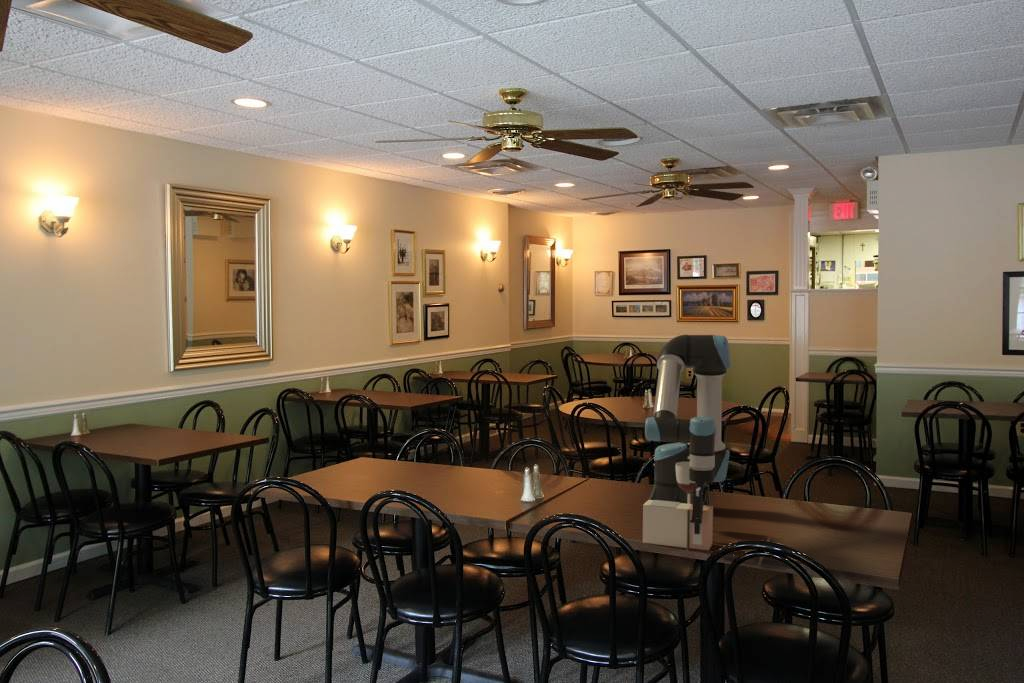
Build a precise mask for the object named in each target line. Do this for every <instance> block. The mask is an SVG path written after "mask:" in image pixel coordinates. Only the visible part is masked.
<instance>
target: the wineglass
mask: <svg viewBox="0 0 1024 683" xmlns="http://www.w3.org/2000/svg"><path fill="white" fill-rule="evenodd" d="M690 468H691V467H690V462H678V463H676V478H677V483H678V485H679V487H680V488H681V489H682V490H684V491H685V492H687V493H688V504H690V501H691V493H694V492H693V490H694V487H696V482H693V481H691V480H690V479H689V469H690Z"/></svg>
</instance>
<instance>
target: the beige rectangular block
mask: <svg viewBox="0 0 1024 683" xmlns="http://www.w3.org/2000/svg"><path fill="white" fill-rule="evenodd" d="M692 505H693V503H691V504H686V503H680V502H671V501H661V500H649V499H648V500H647V501H645V503H643V505H642V543H643V544H652V545H661V546H667V547H668V546H669V547H676V548H684V549H687V548H688V547H689V509H690V508H691V506H692Z"/></svg>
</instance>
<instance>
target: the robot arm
mask: <svg viewBox="0 0 1024 683" xmlns="http://www.w3.org/2000/svg"><path fill="white" fill-rule="evenodd" d="M656 359H657V360H656V367H657V369H658V375H657V383H656V390H655V399H654V406H653V415H652V416H651V417H647V418H646V419H645V423H644V435H645V439H646V440H647V441H651V442H659V443H660V442H667V443H665V444H662V445H658V446H657V447H656V448H655V449H654V458H653V460H654V469H653V470H654V471H653V472H654V478H653V480H654V481H653V482H654V483H653V488H652V491H651V493H650V497H649V499H648V500H661V501H671V502H680V503H686V504H688V493H687V492H685V491H684V490H682V489H681V488H680V487H679V485H678V483H677V478H676V463H678V462H690V467H691V468H690V469H689V479H690V480H691V481H693V482H696V487H694V490H693V492H692V493H693V496H692V497H693V500H692V502H691V500H690V504H692V505H693V510H692V520H690V522H691V523H693V544H699V545H702V513H703V505H709V506H711V502H710V499H711V498H710V483H715V482H717V483H721V482H724V481H725V480H726V477H727V473H728V467H729V459H730V450H728V449H726V444H725V443H724V442H723V441H722V414H723V413H722V412H723V411H722V408H723V406H722V403H723V401H722V400H723V398H722V397H723V396H722V395H723V391H722V390H723V377H724V376H725V375H726V374H727V370H729V369H731V368H732V367H731V365H732V364H731V363H732V362H731V354H730V344H729V340H728V337H726V336H725V335H718V334H716V335H715V334H681V335H678V336H675V337H673V338H671V339H670V340H669V341H668V342H666V344H664V346H663V347H662V348H661V349H660V352H659V354H658V355H657V358H656ZM685 368H692V373H693V374H694V375H695V376H696V379H697V380H696V381H697V382H696V385H697V387H696V388H697V390H696V401H697V402H696V403H697V404H696V416H695V417H692V418H677V417H678V409H679V408H678V406H679V397H680V396H679V394H680V383H681V377H682V376H681V375H682V372H683V371H684V369H685ZM668 442H669V443H668ZM671 442H672V443H671ZM687 443H689V447H688V446H687ZM696 518H698V519H696Z"/></svg>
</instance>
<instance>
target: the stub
mask: <svg viewBox="0 0 1024 683" xmlns="http://www.w3.org/2000/svg"><path fill="white" fill-rule="evenodd" d="M692 510H693V504H692V506H691V508H690V509H689V549H695V550H701V551H710V549H711V547H712V545H713V533H714V532H713V531H714V530H713V528H714V526H713V522H714V521H713V520H714V519H713V518H714V506H713V505H710V506H709V505H703V513H702V545H699V544H693V523H691V522H690V520H692ZM696 519H698V518H696Z"/></svg>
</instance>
